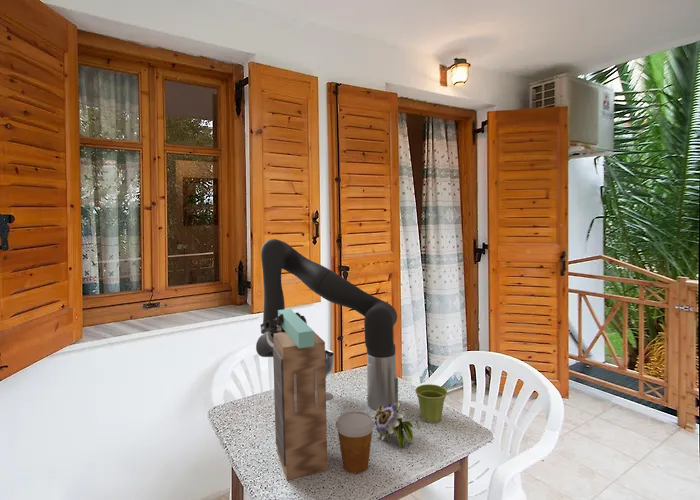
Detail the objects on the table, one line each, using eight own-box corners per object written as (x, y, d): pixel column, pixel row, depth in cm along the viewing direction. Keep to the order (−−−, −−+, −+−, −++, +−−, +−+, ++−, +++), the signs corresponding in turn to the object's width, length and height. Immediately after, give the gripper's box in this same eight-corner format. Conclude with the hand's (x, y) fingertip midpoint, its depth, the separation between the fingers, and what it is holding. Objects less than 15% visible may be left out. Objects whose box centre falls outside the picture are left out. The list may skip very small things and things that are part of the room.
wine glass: (339, 394, 140) (338, 352, 138) (325, 403, 133) (324, 359, 132) (320, 389, 144) (319, 348, 143) (306, 398, 137) (305, 355, 136)
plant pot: (447, 427, 117) (447, 398, 116) (414, 424, 119) (414, 396, 118) (446, 412, 126) (446, 385, 125) (416, 409, 128) (416, 383, 127)
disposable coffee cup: (335, 455, 104) (334, 411, 103) (371, 453, 105) (371, 409, 104) (337, 479, 95) (336, 430, 94) (377, 476, 95) (377, 428, 94)
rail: (290, 321, 115) (290, 308, 114) (314, 346, 92) (313, 330, 92) (278, 322, 114) (277, 310, 113) (298, 348, 91) (298, 332, 91)
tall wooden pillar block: (313, 444, 109) (311, 329, 107) (327, 471, 98) (325, 342, 95) (275, 452, 106) (271, 333, 103) (285, 481, 94) (281, 348, 91)
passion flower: (381, 456, 112) (363, 414, 117) (413, 440, 117) (395, 400, 121) (394, 454, 103) (375, 407, 108) (429, 436, 107) (409, 392, 112)
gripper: (254, 324, 120) (261, 305, 106) (301, 319, 126) (313, 301, 111) (257, 349, 118) (264, 333, 103) (304, 342, 123) (318, 327, 108)
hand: (290, 316), depth 107 cm, fingers closed on rail, 3 cm apart
